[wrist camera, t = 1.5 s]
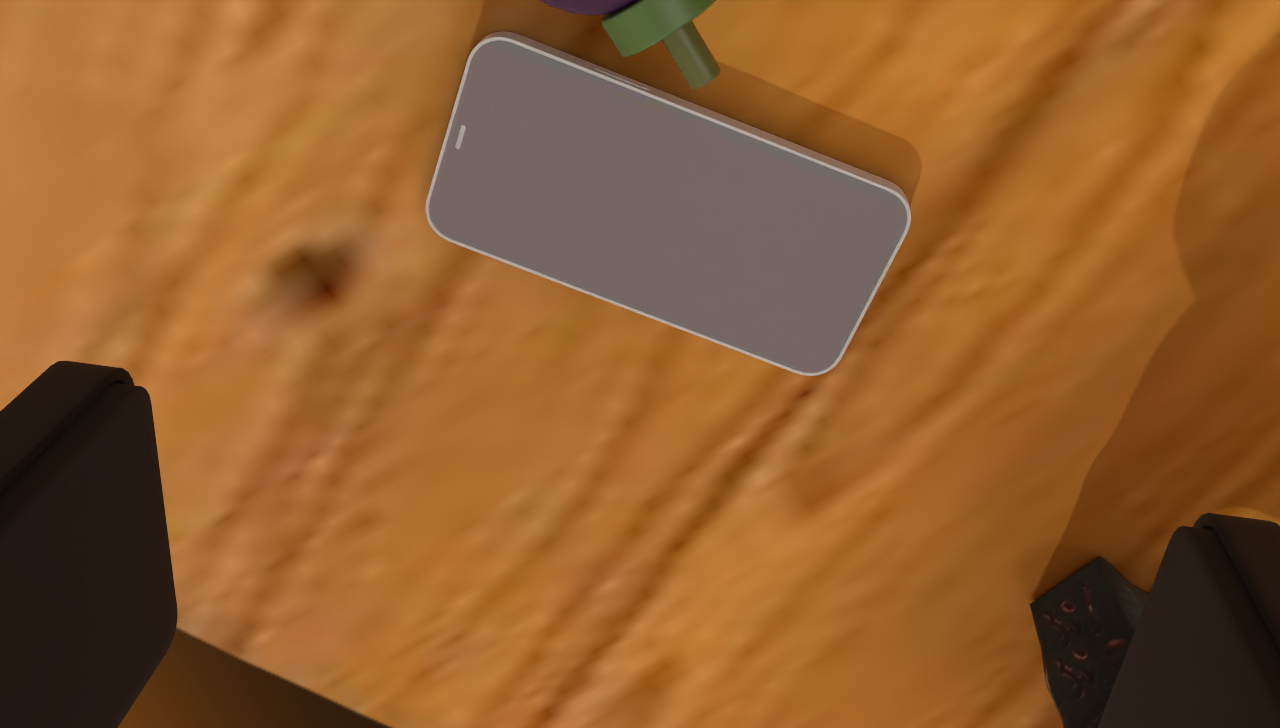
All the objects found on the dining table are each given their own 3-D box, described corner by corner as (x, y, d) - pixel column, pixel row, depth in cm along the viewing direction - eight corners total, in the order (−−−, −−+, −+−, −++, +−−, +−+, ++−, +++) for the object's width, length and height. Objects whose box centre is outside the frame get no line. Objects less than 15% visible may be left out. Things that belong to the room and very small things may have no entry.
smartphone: (826, 386, 41) (417, 231, 40) (825, 373, 42) (424, 220, 41) (924, 200, 38) (477, 24, 37) (921, 190, 39) (484, 17, 38)
